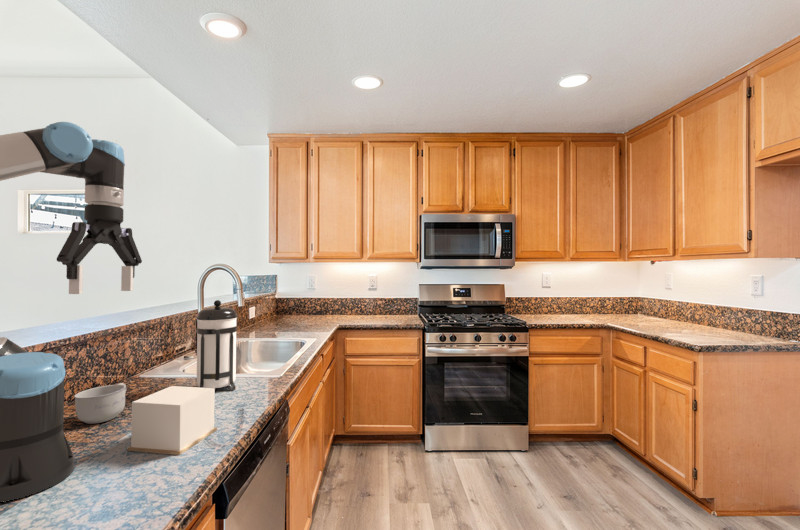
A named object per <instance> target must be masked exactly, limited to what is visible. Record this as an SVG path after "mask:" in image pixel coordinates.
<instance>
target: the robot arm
mask: <svg viewBox="0 0 800 530" xmlns="http://www.w3.org/2000/svg"><path fill="white" fill-rule="evenodd" d="M125 166H126V163H125V153H124V149H123V147H122V146H121V145H120V144H118V143H115V142H113V141H109V140H103V139H102V140H101V139H92V138H91V136H90V134H89V133H88V132H87V131H86V130H85V129H84V128H83V127H81V126H79V125H77V124H75V123H73V122H70V121H69V122H68V121H57V122H54V123H50V124H49V125H47V126H45V127H43V128H36V129H31V130H24V131H18V132H13V133H6V134H0V182H1V181H6V180H9V179H14V178H18V177H22V176H23V177H24V176H26V175H30V174H31V175H32V174H35V173H42V174H43V173H44V174H51V175H58V176H64V177H65V176H66V177H72V178H79V179H84V184H85V185H84V203H86V205H85V206H84V220H85V221H86V222H85V221H76V222H75V221H74V222H72V225H71V231H70V234H69V235H68V236H67V238H66V240H65V242H64V244H63V246H62V247H61V249H60V251H59V253H58V255H57V257H56V261H57V262H58V263H62V265H63V266H66V274H65V275H66V279H67V280H68V295H83V285H84V284H83V279H84V278H83V274H84V266H83V264H82V265H81V262H82V261H83V259H85V257H86V256H87V255H88V254H89V253H90V252H91V250H92V249H93V248H94V247H95V246H96V245H97V244H103V245H109V246H110V247H111V248H112V249H113V250H114V252H115V253H116V255H117V256H118V257H119V259H120V261H121V262H122V263H123V264H124V265H122V266H121V281H120V282H121V287H120V288H121V289H120V291H121V292H133V290H134V278H135V272H136V271H135V269H136V268H135V267H138V266H139V265H140V264H142V261H143V260H142V257H141V255H140V253H139V250H138V247H137V245H136V243H135V239H134V237H133V229H132V228H131V227H128V228H127V227H121V224H122V223H124V209H123V207H122V206H124V185H125V183H124V182H125V181H124V178H125ZM86 233H87V234H86ZM65 378H66V368H65V362H64V359H63V357H61V356H60V355H58V354H56V353H52V352H47V353H46V352H44V351H43V352H42V351H34V352H33V351H32V352H31V351H27V350H26V349H25V348H23V347H22V346H20V345H18V344H17V343H14V341H11V340H10V339H9V338H7V337H6V336H3V337H2V336H0V502H3V501H8V500H13V501H15V500H14V499H17V500H20V499H24V498H26V497H25V496H27V497H29V495H30V496H32V495H35V494H37V492H38V493H40V492H43V491H45V490H47V489H50V488H51V486H52V487H53V485H54V486H55V484H56V485H57V484H59V483H61V482H62V481H64V480H66V479H67V478H68V477H69V476H71V475H72V474H73V472H74V470H75V456H74V453H73V452H72V449H71V446H70V443H69V441H68V440H67V437H66V434H65V432H64V410H65V409H64V407H65V406H64V405H65ZM66 477H67V478H66ZM49 487H50V488H49ZM44 489H45V490H44ZM42 490H43V491H42ZM31 494H32V495H31ZM19 498H20V499H19Z"/></svg>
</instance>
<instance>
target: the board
mask: <svg viewBox="0 0 800 530" xmlns="http://www.w3.org/2000/svg"><path fill="white" fill-rule="evenodd" d="M216 431H218V427H216V426H214V429H212V430H211V431H209V432H208V433H206V434H205V435H203V436H202V437H200V438H199V439H197V440H196V441H194V442H193V443H191V444H190V445H188V446H187V447H185V448H183V449H182V450H180V451H174V450H162V449H149V448H137V447H131V445H130V446H129V447H127V448H126V451H127V452H128V451H130V452H141V453H154V454H163V455H164V454H165V455H174V456H175V455H178V456H180V455H182V454H183V453H185V452H187V451H188V450H190V449H191V448H192V447H194V446H196V445H197V444H198V443H200V442H202V441H203V440H204V439H206V438H207V437H209V436H211V434H213V433H215V432H216Z"/></svg>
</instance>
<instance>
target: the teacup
mask: <svg viewBox="0 0 800 530" xmlns="http://www.w3.org/2000/svg"><path fill="white" fill-rule="evenodd" d="M126 393H127V385H126V383H124V382H120V383H117V384H109V385H102V386H101V385H100V386H97V387H92V388H89V389H86V390H85V389H84V390H82V391H79V392H78V393H76V394H74V396H73V398H74V404H75V414H76V417H77V419H78V420H79V421H81V422H83V423H85V424H88V425H93V424H100V423H104V422H108V421H111V420H113V419H115V418H116V417H118V416H119V414H120V413H122V412H123V410H124V409H125V408H126V406H125V405H126Z"/></svg>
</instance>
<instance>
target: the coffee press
mask: <svg viewBox="0 0 800 530" xmlns="http://www.w3.org/2000/svg"><path fill="white" fill-rule="evenodd" d="M213 305H214V307H207V308H206V307H205V308H203V309H201V310H199V312H198V314H197V315H196V316H195V318H196V321H197V322H196V324H197V326H196V335H197V336H196V339H197V340H196V385H197V387H200V388H215V389H219V388H223V387H224V388H227V389H228V390H229V391H230V390H232V391H235V390H236V388H237V387H236V385H235V383H234V382H235V381H236V379H237V378H236V375H237V374H236V373H237V372H236V370H237V332H238V324H237V319H238V316H239V314H238V313H237V312H236V310H235V309H233V308H232V307H226V306H225V307H223V306H221V305H222V302H221V300H219V299H218V300H215V301H214V302H213Z"/></svg>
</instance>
